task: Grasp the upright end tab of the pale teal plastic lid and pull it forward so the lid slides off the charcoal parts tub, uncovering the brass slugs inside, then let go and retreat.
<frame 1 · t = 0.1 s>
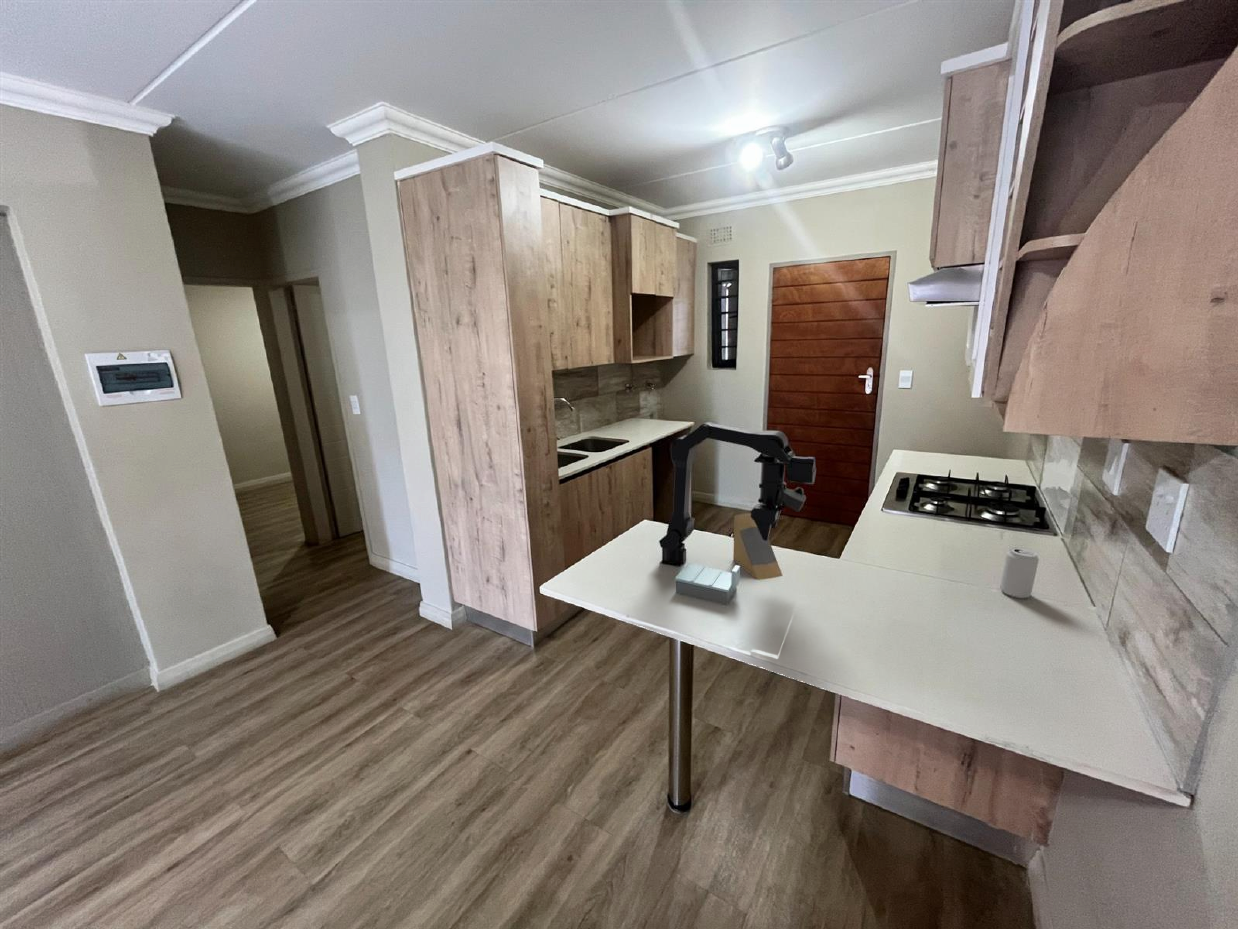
hand: (769, 534, 131), 15 cm above the worktop, fingers open, 9 cm apart
tub: (706, 592, 130), on the worktop
brass slug B: (716, 591, 130), point 1 cm above the worktop, touching tub
brass slug A: (695, 589, 131), point 1 cm above the worktop, touching tub
sandwich container: (757, 570, 143), on the worktop
lid: (708, 571, 128), point 7 cm above the worktop, slide at 0.0 cm
beverage can: (1014, 594, 126), on the worktop
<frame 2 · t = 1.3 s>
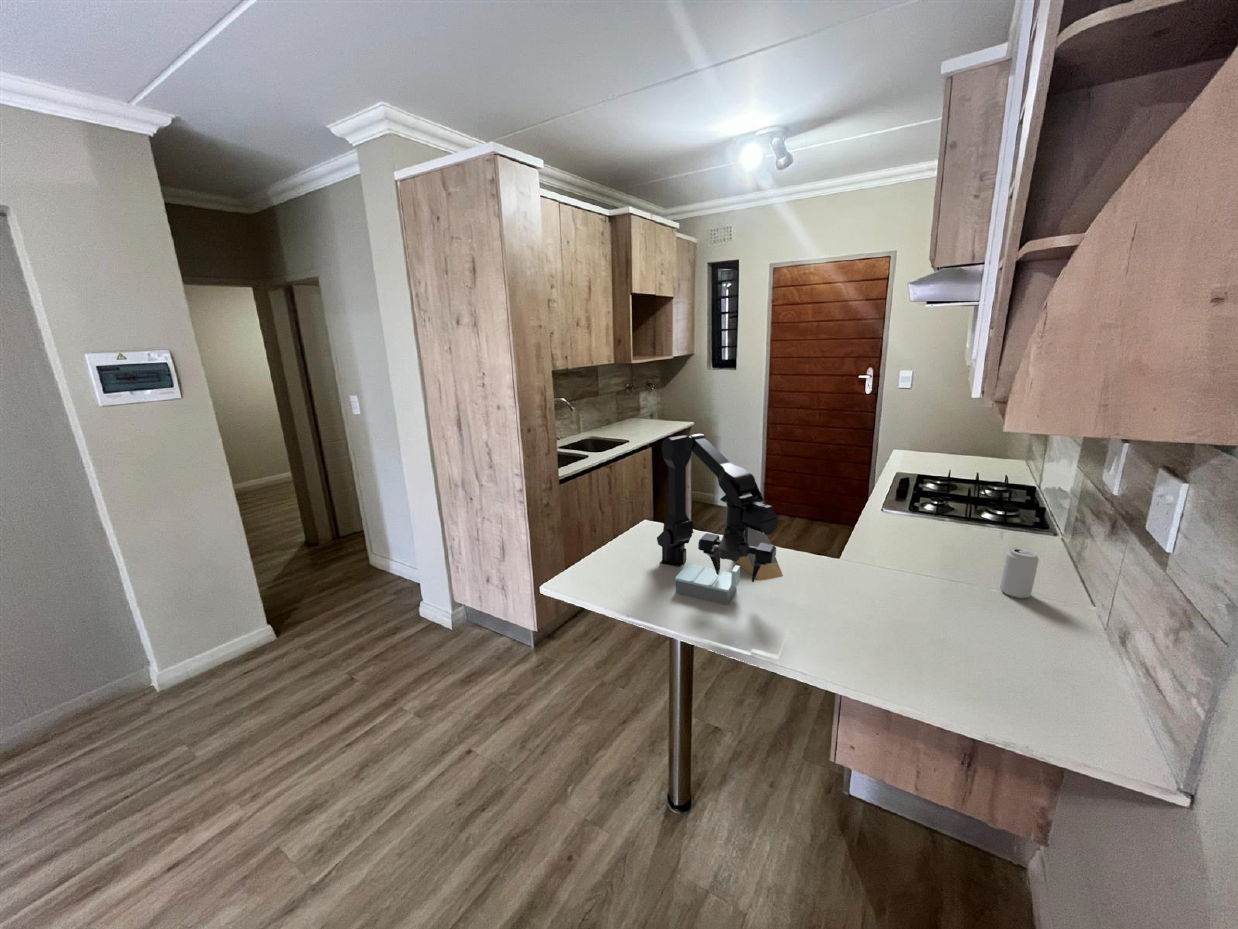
hand: (735, 577, 125), 6 cm above the worktop, fingers open, 9 cm apart
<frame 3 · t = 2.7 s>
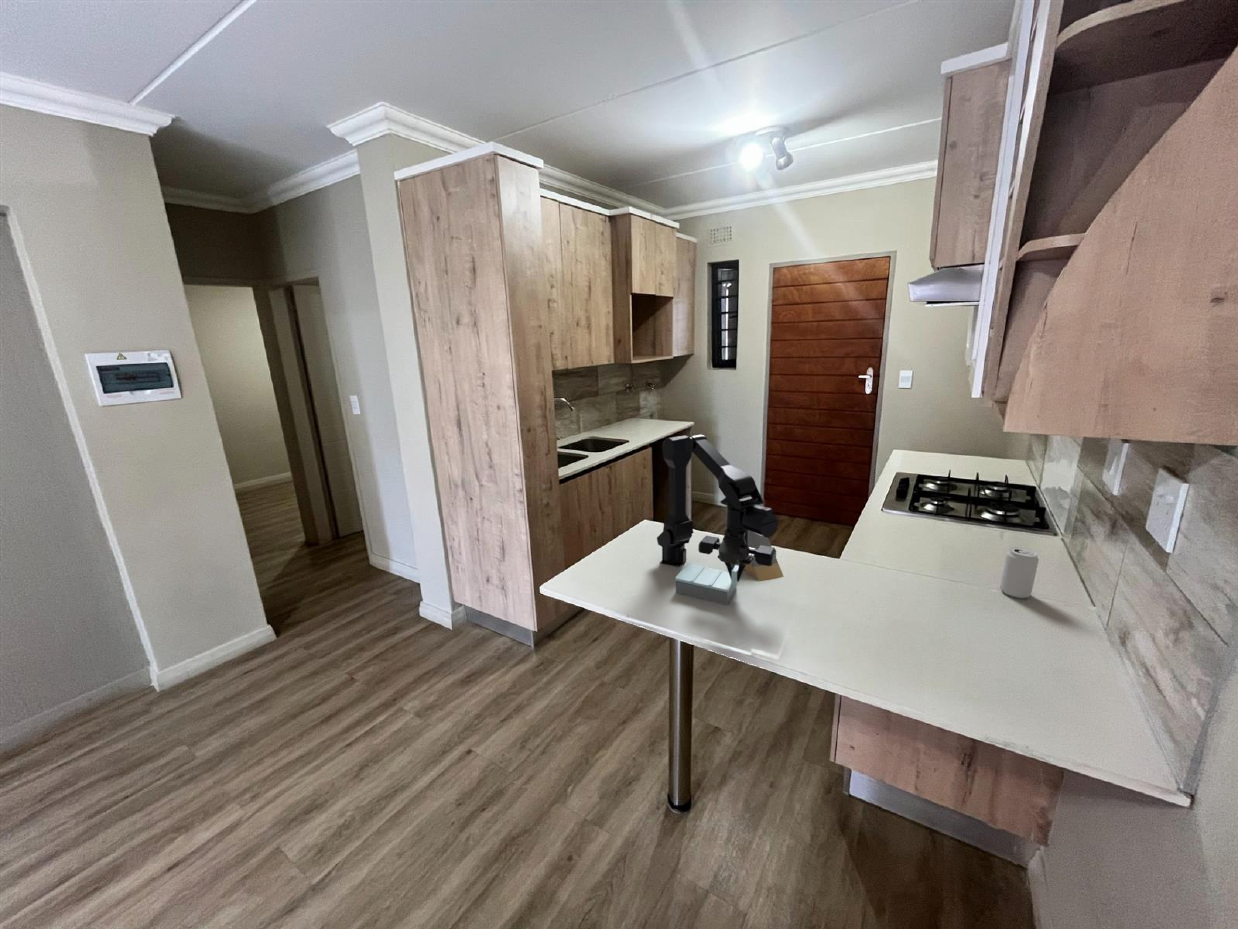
hand: (735, 580, 125), 6 cm above the worktop, fingers closed on lid
lid: (708, 571, 128), point 7 cm above the worktop, slide at 0.0 cm, touching gripper
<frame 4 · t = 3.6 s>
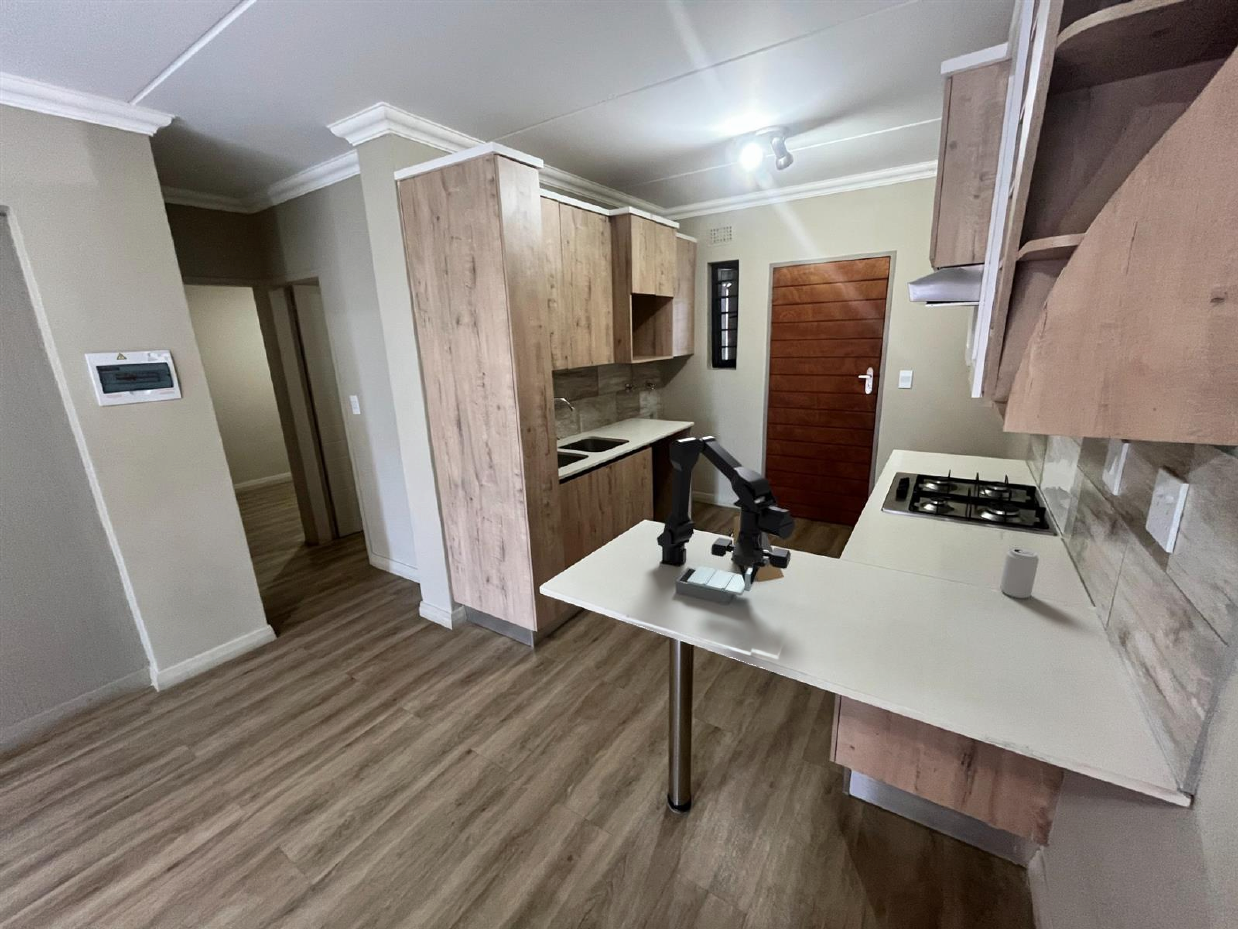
hand: (748, 583, 124), 6 cm above the worktop, fingers closed on lid
lid: (721, 573, 127), point 7 cm above the worktop, slide at 3.5 cm, touching gripper
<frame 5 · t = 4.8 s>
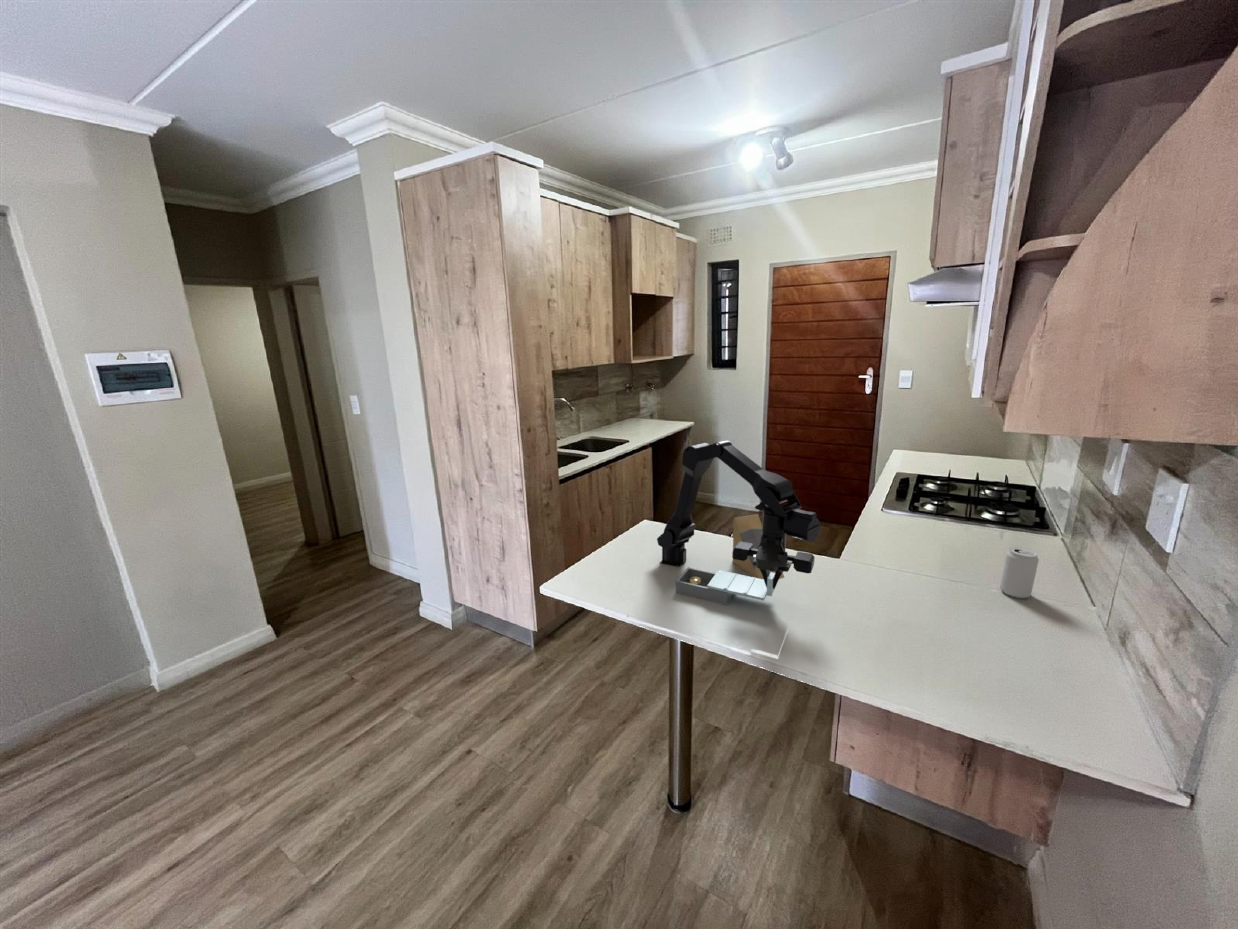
hand: (770, 587, 121), 6 cm above the worktop, fingers closed on lid
lid: (742, 578, 124), point 7 cm above the worktop, slide at 9.0 cm, touching gripper
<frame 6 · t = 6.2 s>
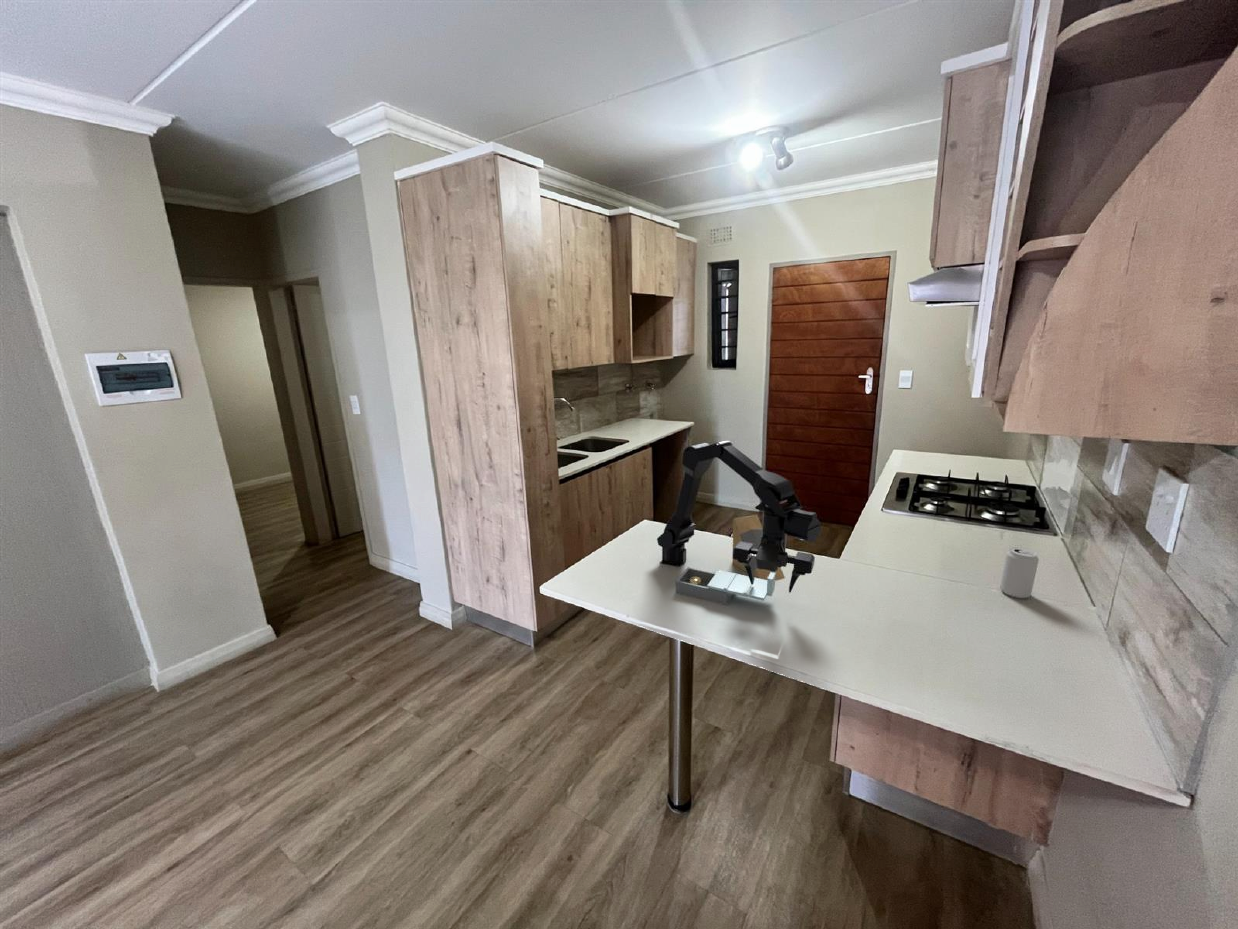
hand: (770, 587, 121), 6 cm above the worktop, fingers open, 9 cm apart
lid: (742, 578, 124), point 7 cm above the worktop, slide at 9.0 cm
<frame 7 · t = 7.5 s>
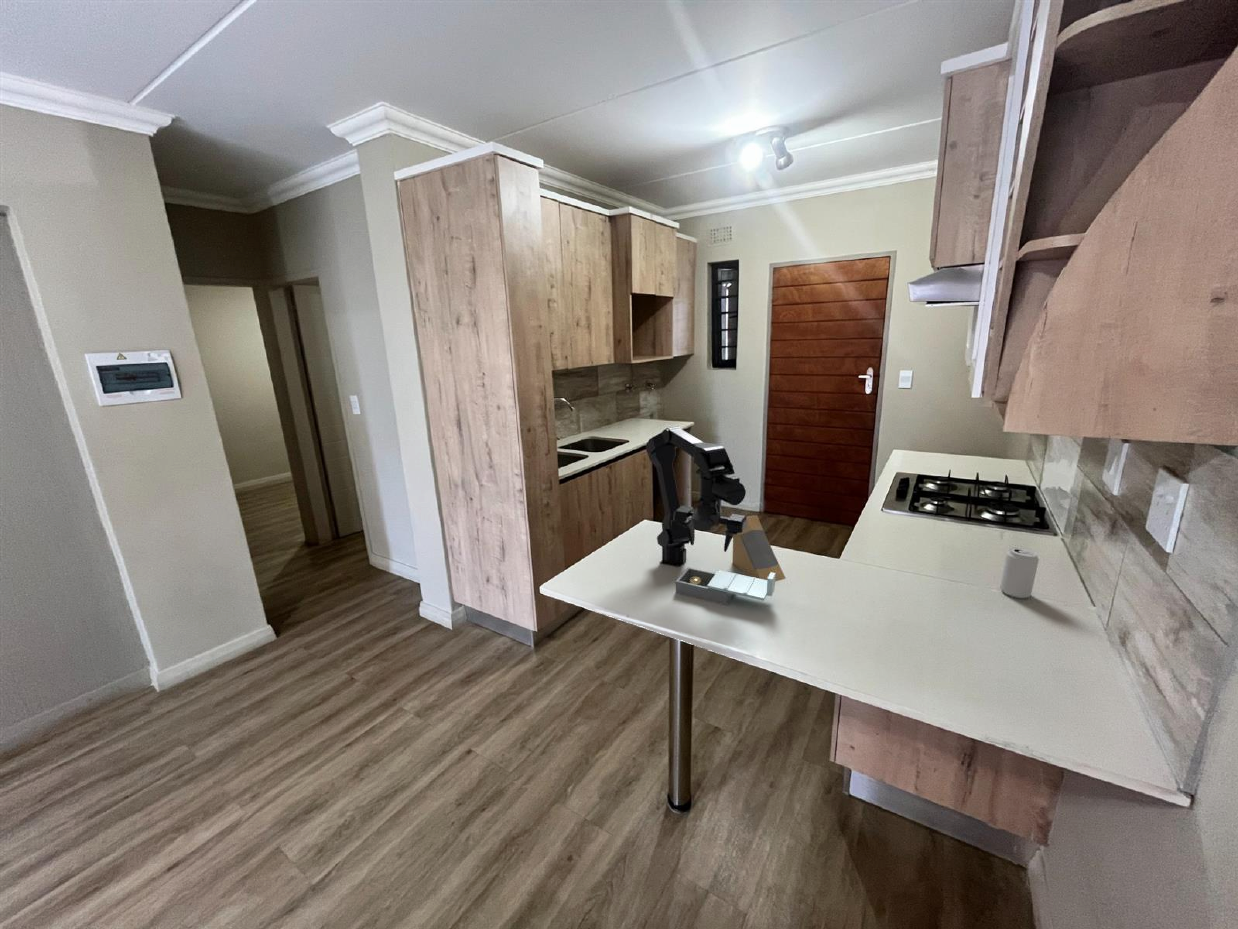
hand: (708, 548, 130), 12 cm above the worktop, fingers open, 9 cm apart
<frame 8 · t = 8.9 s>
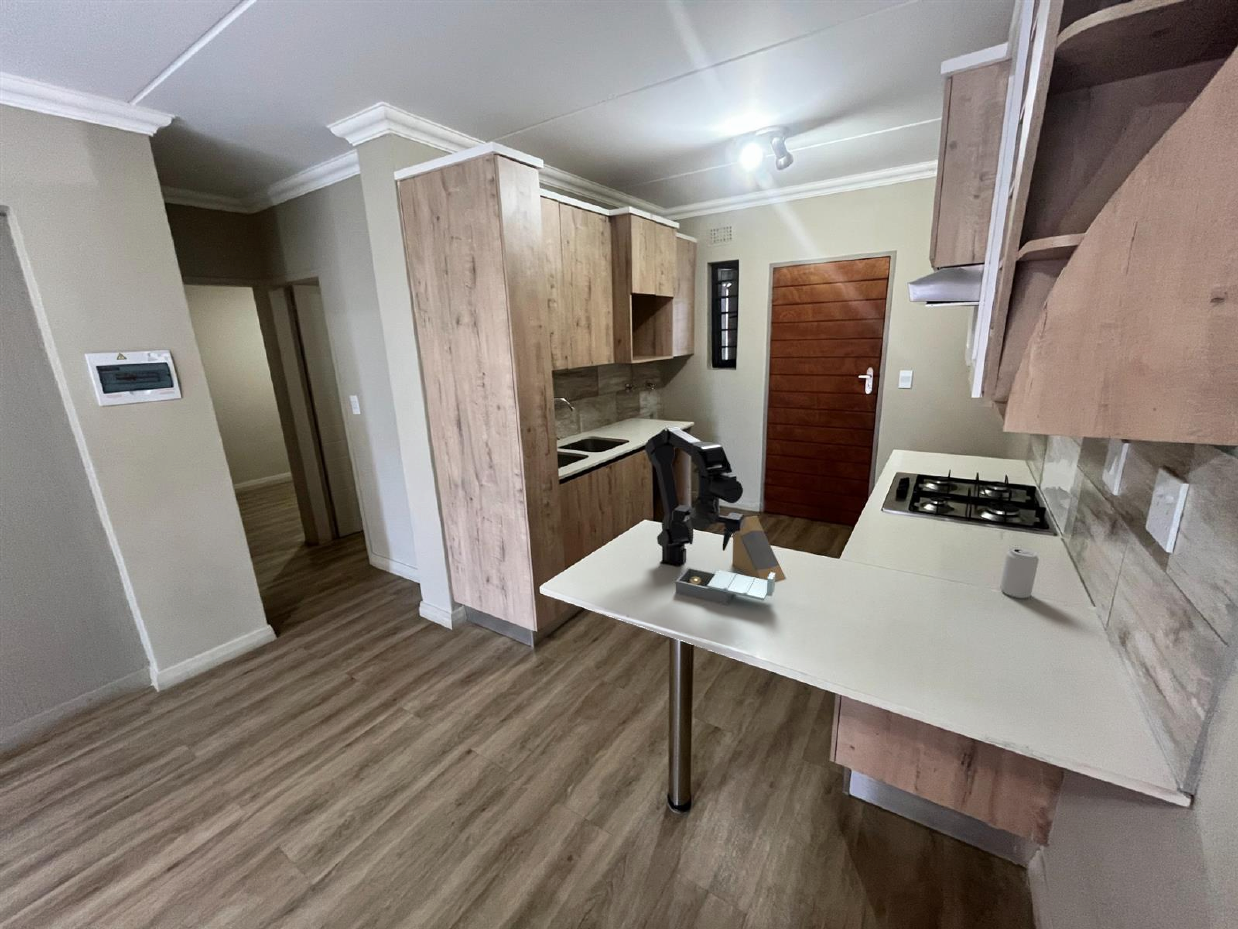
hand: (707, 547, 130), 12 cm above the worktop, fingers open, 9 cm apart
at the end: lid slide at 9.0 cm; the gripper is holding nothing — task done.
